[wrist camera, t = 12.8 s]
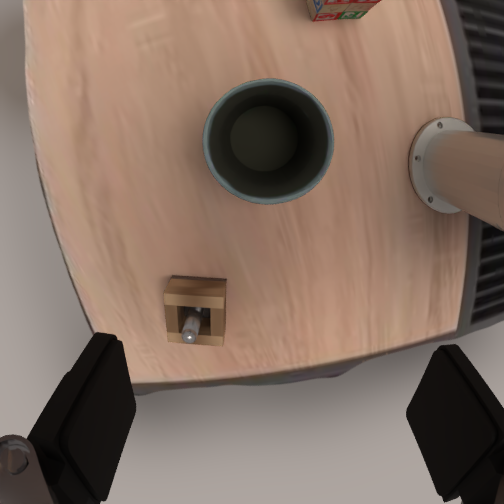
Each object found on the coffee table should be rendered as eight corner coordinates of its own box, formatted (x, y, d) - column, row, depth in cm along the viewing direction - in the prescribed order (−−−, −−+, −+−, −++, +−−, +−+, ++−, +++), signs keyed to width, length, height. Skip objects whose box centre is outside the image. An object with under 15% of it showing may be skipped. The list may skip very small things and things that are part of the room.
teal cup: (202, 152, 35) (179, 163, 24) (249, 78, 32) (248, 53, 21) (277, 198, 37) (288, 228, 26) (326, 126, 34) (358, 125, 23)
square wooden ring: (226, 281, 40) (223, 297, 37) (225, 328, 43) (223, 346, 39) (171, 278, 40) (163, 293, 36) (174, 324, 43) (167, 341, 39)
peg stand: (226, 279, 41) (220, 315, 33) (225, 324, 44) (219, 366, 35) (172, 275, 41) (154, 310, 33) (174, 320, 43) (160, 360, 35)
